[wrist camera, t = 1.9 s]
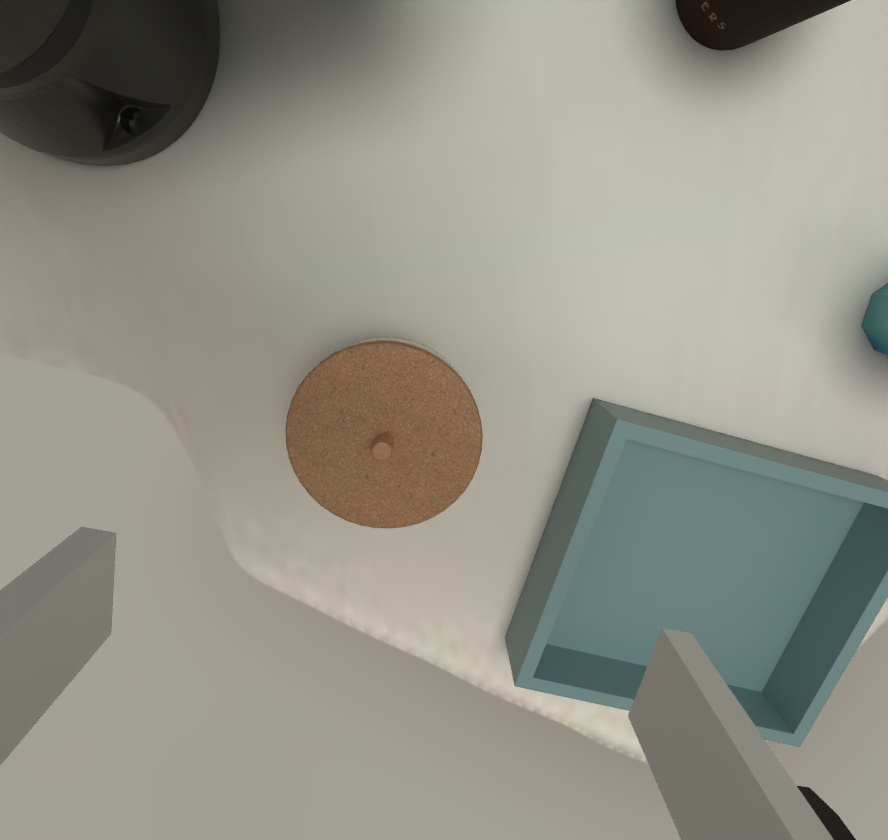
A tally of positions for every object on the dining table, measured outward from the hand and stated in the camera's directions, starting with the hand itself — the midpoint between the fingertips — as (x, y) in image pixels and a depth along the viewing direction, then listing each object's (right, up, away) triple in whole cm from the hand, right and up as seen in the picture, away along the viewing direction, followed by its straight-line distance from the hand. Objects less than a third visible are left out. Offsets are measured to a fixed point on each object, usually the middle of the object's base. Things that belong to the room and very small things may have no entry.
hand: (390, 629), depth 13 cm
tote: (+19, -6, +28) cm, 34 cm away
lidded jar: (-2, +6, +24) cm, 25 cm away
